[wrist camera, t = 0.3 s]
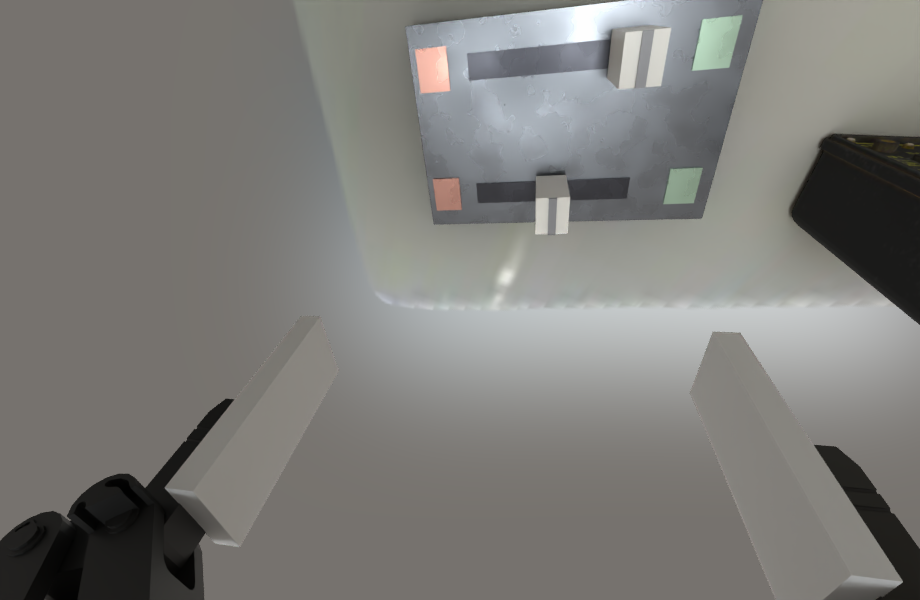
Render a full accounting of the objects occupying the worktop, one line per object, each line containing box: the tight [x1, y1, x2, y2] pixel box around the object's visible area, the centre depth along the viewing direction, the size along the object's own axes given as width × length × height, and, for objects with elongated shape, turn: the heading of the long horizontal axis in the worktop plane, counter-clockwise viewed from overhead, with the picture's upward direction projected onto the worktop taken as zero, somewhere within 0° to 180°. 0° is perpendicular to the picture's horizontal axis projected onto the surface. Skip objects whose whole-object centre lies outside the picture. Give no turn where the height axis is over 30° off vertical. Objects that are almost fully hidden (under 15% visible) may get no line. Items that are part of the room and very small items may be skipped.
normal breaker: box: [607, 25, 671, 89], centre depth 26 cm, size 3×2×5 cm
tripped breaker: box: [535, 175, 570, 235], centre depth 32 cm, size 3×2×5 cm
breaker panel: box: [405, 0, 763, 224], centre depth 33 cm, size 16×24×2 cm, turn 95°
